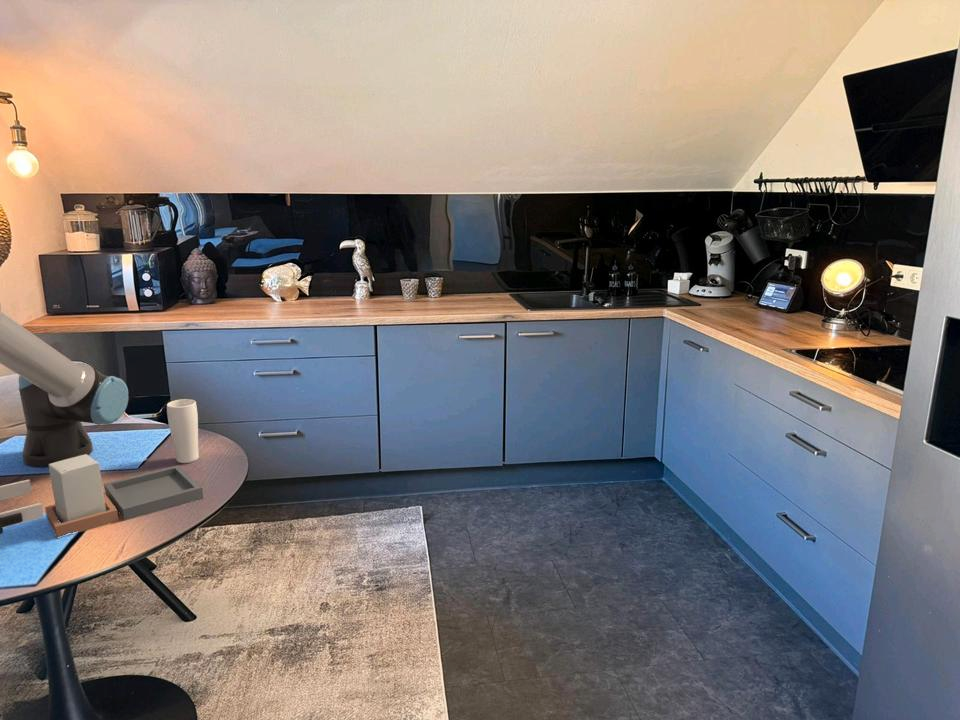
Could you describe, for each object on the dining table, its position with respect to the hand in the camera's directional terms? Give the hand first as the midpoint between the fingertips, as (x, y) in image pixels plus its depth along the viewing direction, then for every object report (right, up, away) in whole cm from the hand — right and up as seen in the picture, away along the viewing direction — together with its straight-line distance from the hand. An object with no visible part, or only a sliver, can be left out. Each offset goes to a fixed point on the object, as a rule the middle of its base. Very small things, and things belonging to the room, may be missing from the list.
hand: (36, 497), depth 134 cm
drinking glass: (+14, +2, +37) cm, 39 cm away
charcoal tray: (+15, -3, +17) cm, 23 cm away
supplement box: (+5, -6, +7) cm, 10 cm away
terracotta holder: (+5, -6, +7) cm, 10 cm away
